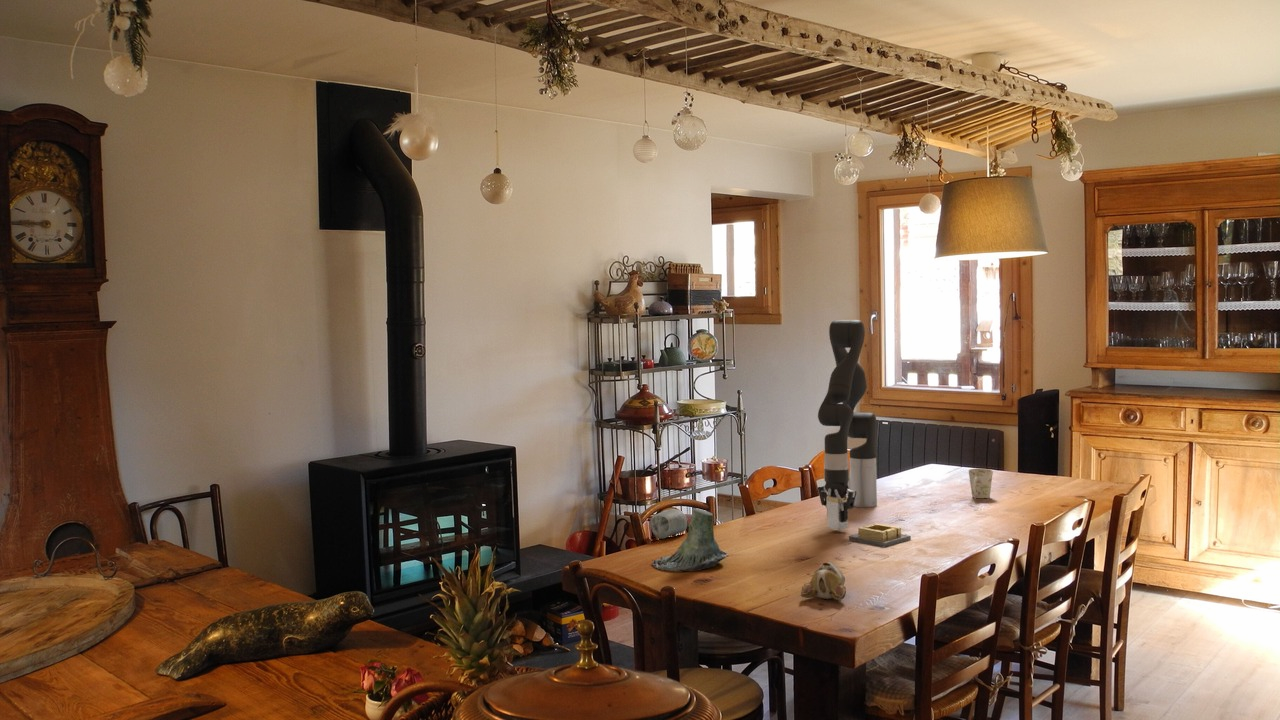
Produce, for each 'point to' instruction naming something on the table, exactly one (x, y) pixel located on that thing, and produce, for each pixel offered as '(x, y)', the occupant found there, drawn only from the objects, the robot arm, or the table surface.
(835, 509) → the white upright block
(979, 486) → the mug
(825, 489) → the robot arm
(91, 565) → the table surface
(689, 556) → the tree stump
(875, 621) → the table surface
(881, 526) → the fitting socket
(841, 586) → the ceramic sculpture
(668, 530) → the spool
